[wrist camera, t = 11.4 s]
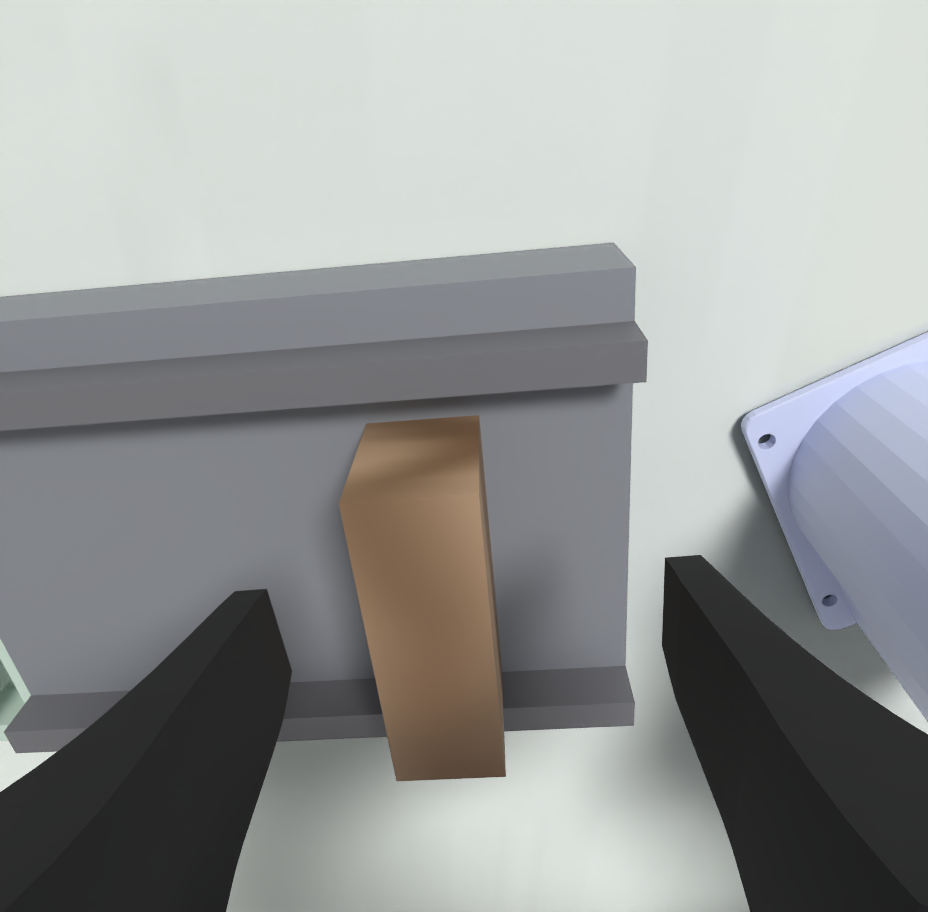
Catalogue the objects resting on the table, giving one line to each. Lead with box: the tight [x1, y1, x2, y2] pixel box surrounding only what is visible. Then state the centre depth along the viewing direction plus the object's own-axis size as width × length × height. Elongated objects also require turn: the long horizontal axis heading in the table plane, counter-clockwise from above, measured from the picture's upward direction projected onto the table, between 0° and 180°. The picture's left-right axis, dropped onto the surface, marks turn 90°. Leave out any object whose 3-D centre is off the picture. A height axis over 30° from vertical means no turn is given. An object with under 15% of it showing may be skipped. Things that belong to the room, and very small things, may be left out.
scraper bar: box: [339, 415, 506, 781], centre depth 18 cm, size 3×9×4 cm, turn 5°
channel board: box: [0, 243, 648, 753], centre depth 21 cm, size 20×15×4 cm
